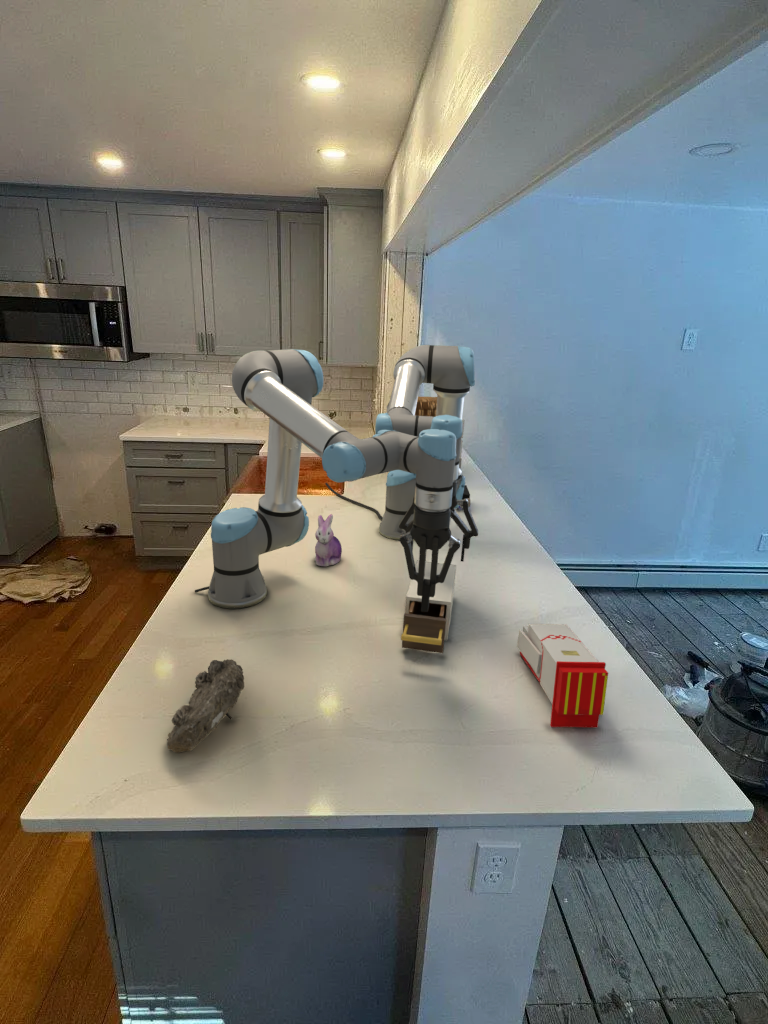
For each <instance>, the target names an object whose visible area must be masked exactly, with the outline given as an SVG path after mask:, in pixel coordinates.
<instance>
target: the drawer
mask: <svg viewBox="0 0 768 1024" xmlns="http://www.w3.org/2000/svg"><path fill="white" fill-rule="evenodd" d="M445 613H446V605H442V604H434V603H429V608H428V612H422V611H421V602H418V601H412V602H411V606H410V609H409V614H407V613H405V612H404V614H403V623H402V633H401V635H400V640H401V648H402V649H408V650H416V651H424V652H430V653H436V654H437V653H438V654H443V653H444V649H445V640H444V638H445V627H446V618H445Z"/></svg>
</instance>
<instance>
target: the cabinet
mask: <svg viewBox="0 0 768 1024" xmlns="http://www.w3.org/2000/svg"><path fill="white" fill-rule="evenodd" d="M443 564H444V562H438V565H437V575H439V574H440V572H441V569H442V567H443ZM415 567H416V572H418V569H419V559H418V560H417V559H416V562H415ZM430 573H431V561H427V560H426V563H425V576H424V579H430ZM456 573H457V564H454V563H453V564H450V567H449V569H448V572H447V575H446V578H445V580H444V582H443V583H437V584H436V588H435V596H434V597H430V598H429V603H434V604H442V605H446V613H445V618H446V627H445V638H444V641H448V639H449V634H450V625H451V619H452V610H453V603H454V595H455V585H456ZM417 585H418V583H417V581H416V580H411V579H410V581H409V586H408V589H407V592H406V595H405V603H404V604H405V605H404V607H405V608H404V614H405V613H407V614H409V609H410V606H411V602H412V601H418V602H422V596H418V595H417Z"/></svg>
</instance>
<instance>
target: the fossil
mask: <svg viewBox="0 0 768 1024" xmlns="http://www.w3.org/2000/svg"><path fill="white" fill-rule="evenodd" d="M243 670H244V669H243V667H242V665H240V664H237V662H236V661H235V660H234V659H232V658H231V659H227V658H226V659H224V660H223V661H222V660H217V659H212V660H211V661H210V663H209V665H208V666H207V671H201V672H199V673H198V674H197V675H196V676H195V680H194V684H195V685H194V687H195V689H194V690H193V693H192V694H191V697H190V698H189V700H188V704H184V705H182V706H181V707H180V709H177V710H176V711H175V713H174V715H173V716H172V718H171V723H172V724H173V727H172V730H171V731H170V732H168V734H167V738H166V741H167V742H166V745H167V749H168V750H169V751H173V752H174V753H176V754H178V753H182V752H188V751H189V752H192V751H193V750H195V748H196V747H197V746H199V744H200V743H201V742H203V741H204V740H205V739H206V738H207V737H208V736H209V735H210V734H211V733H212V732H214V730H215V729H217V727H218V726H219V724H220V722H221V721H222V720H223V719H224V718H225V716H226V717H227V719H229V720H233V717H232V715H230V714H229V710H230V709H231V708H234V706H235V704H236V703H237V702H238V699H239V697H240V695H241V693H242V691H243V690H245V689H244V688H245V675H244V671H243Z"/></svg>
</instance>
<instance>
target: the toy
mask: <svg viewBox="0 0 768 1024" xmlns="http://www.w3.org/2000/svg"><path fill="white" fill-rule="evenodd" d="M516 648H517V649H518V651H519V655H520V657H521V658H522V659H523V662H525V664H526V665H527V667H528V668H529V670H530V671H531V673H532V674H533V676H534V678H535V679H536V680H537V681H538V683H539V684H540V686H541V688H542V690H543V691H544V693H545V695H546V697H547V699H548V700H549V701H550V703H551V713H550V715H551V716H550V723H549V726H550V727H551V728H598V727H599V720H600V716H603V715H604V711H605V703H606V695H607V687H608V680H609V679H608V678H609V672H608V671H607V670H606V662H604V661H599V660H598V659H597V657H595V655H594V654H593V653H592V652H591V651H590V650H589V649H588V648H587V646H586V645H585V644H584V643H583V642H582V641H581V639H580V638H579V637H578V636H577V635H576V634H575V632H574V631H573V630H572V629H571V628H570V627H569V625H568V624H567V623H566V624H565V623H528V625H523V626H522V629H519V630H518V636H517V643H516Z"/></svg>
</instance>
